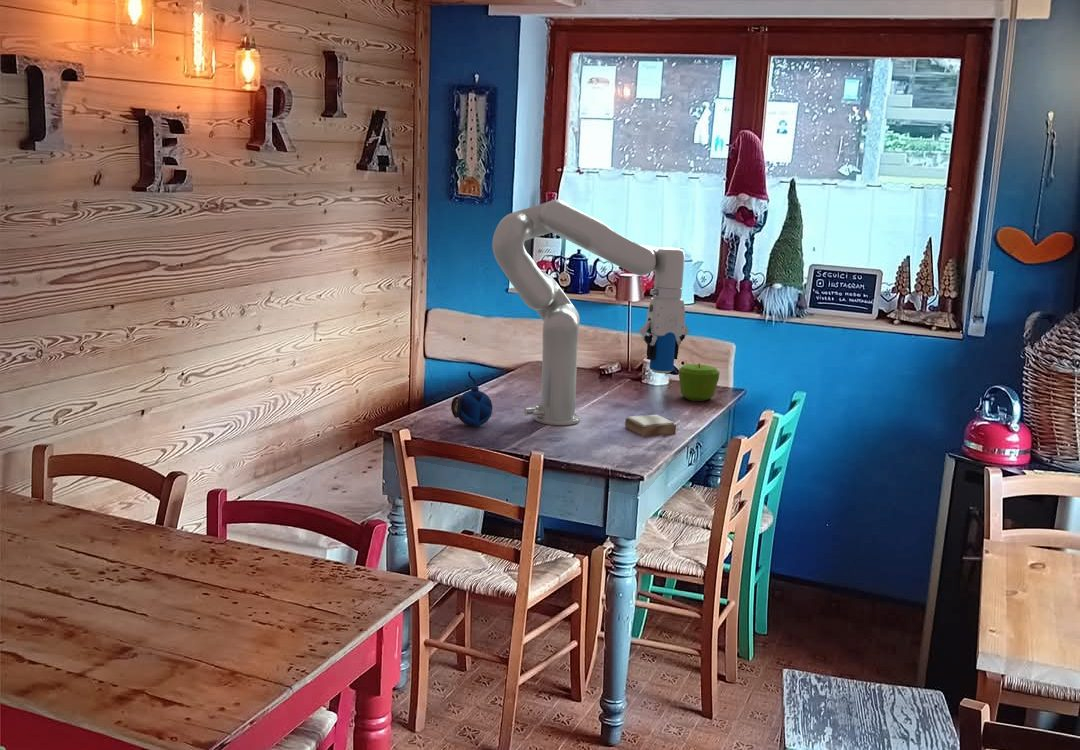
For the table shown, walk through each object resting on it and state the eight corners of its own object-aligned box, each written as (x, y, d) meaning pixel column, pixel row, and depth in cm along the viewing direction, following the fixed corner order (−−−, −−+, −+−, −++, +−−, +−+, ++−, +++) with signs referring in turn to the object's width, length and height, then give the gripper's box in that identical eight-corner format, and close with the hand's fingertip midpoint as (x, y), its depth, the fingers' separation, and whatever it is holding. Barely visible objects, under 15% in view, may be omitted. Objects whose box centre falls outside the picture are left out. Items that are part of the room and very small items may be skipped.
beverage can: (672, 369, 302) (675, 327, 300) (673, 374, 296) (677, 331, 293) (649, 368, 302) (652, 325, 300) (649, 373, 296) (652, 329, 294)
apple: (724, 402, 334) (727, 366, 332) (689, 404, 330) (692, 367, 328) (704, 393, 346) (706, 358, 343) (670, 395, 341) (672, 359, 339)
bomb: (447, 422, 297) (448, 368, 294) (485, 420, 301) (487, 367, 298) (457, 431, 288) (458, 375, 285) (496, 429, 292) (498, 374, 289)
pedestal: (643, 436, 291) (643, 425, 290) (625, 427, 300) (625, 416, 299) (675, 433, 295) (676, 422, 294) (656, 424, 304) (657, 414, 303)
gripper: (647, 296, 288) (642, 362, 291) (701, 295, 295) (696, 360, 299) (632, 291, 294) (627, 357, 298) (686, 291, 302) (680, 355, 305)
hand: (662, 358), depth 298 cm, fingers closed on beverage can, 6 cm apart
